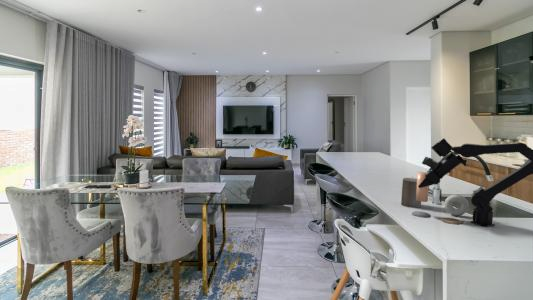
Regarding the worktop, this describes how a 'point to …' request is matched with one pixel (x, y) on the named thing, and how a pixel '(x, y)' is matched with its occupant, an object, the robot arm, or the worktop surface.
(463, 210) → the donut
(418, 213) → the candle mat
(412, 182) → the pillar candle
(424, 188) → the post
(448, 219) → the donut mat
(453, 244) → the worktop surface
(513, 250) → the worktop surface
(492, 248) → the worktop surface
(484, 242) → the worktop surface
